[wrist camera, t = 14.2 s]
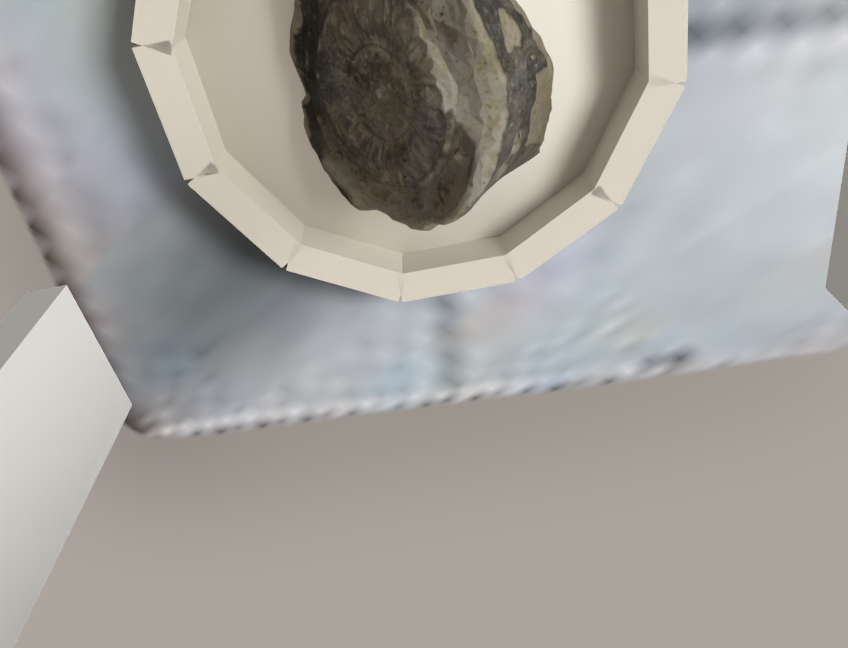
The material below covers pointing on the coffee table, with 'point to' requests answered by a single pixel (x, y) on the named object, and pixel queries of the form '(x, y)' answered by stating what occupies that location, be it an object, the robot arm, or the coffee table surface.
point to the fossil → (420, 100)
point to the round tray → (374, 230)
